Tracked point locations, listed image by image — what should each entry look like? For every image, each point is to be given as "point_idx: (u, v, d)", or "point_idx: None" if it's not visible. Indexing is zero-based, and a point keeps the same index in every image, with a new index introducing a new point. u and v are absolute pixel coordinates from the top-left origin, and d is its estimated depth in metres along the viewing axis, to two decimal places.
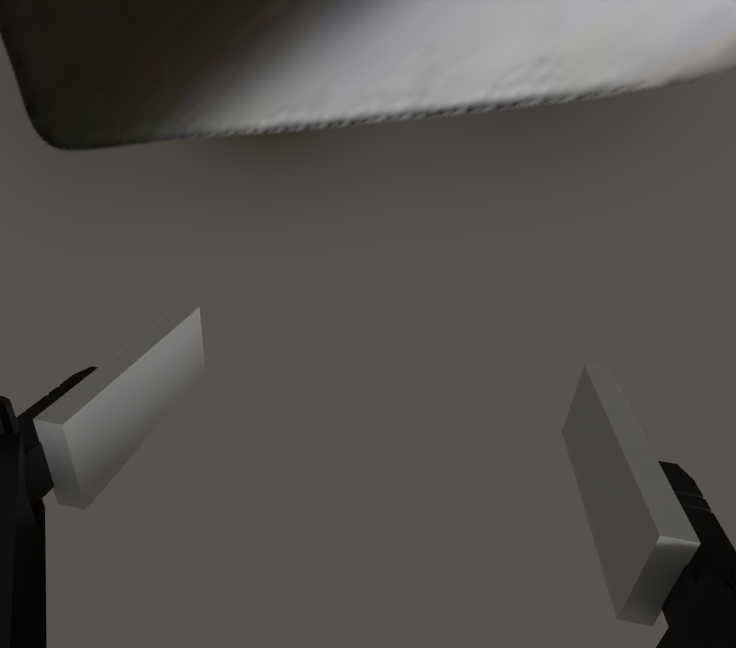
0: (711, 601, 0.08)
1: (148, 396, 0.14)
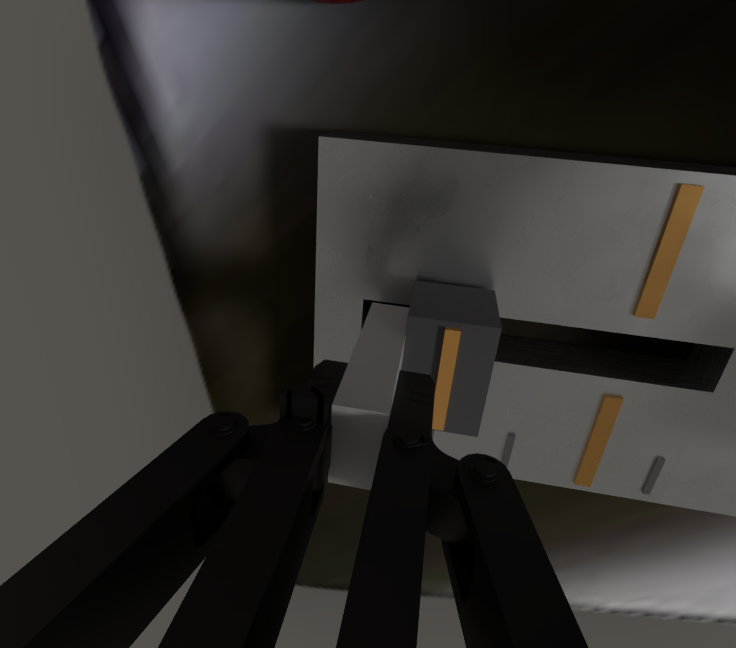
0: (390, 463, 0.11)
1: None
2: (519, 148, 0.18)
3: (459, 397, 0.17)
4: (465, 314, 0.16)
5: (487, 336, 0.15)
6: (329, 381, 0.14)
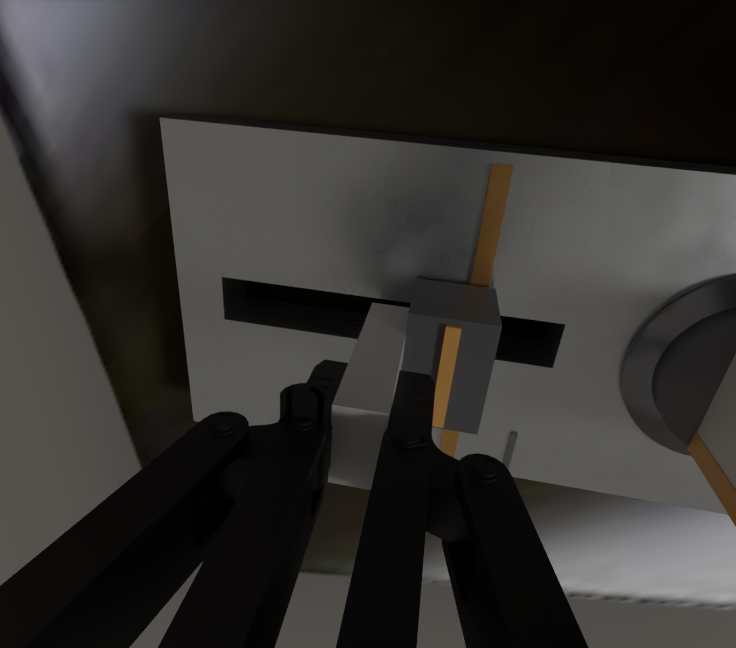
0: (390, 463, 0.11)
1: None
2: (361, 131, 0.19)
3: (459, 394, 0.17)
4: (466, 311, 0.16)
5: (487, 334, 0.16)
6: (329, 381, 0.14)
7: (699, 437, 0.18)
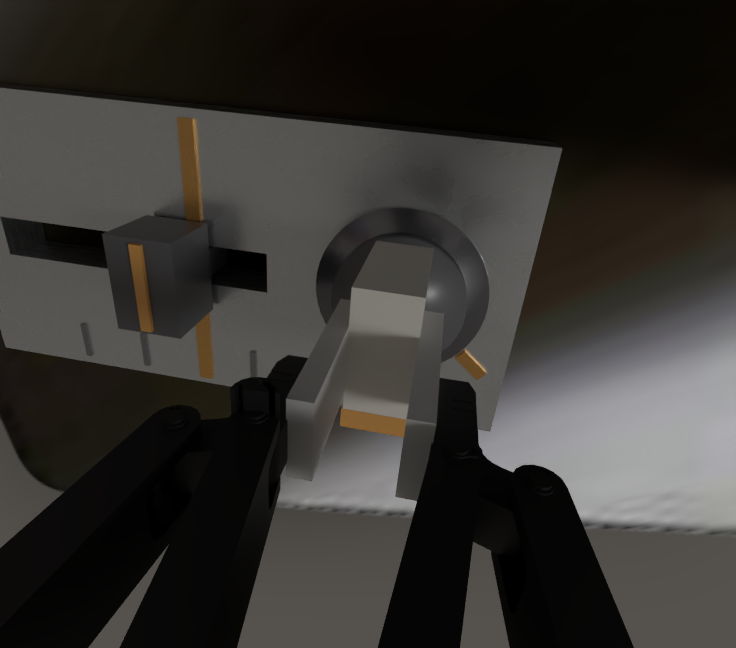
0: (438, 472, 0.11)
1: (338, 382, 0.16)
2: (101, 94, 0.23)
3: (157, 303, 0.21)
4: (154, 235, 0.20)
5: (162, 250, 0.20)
6: (290, 376, 0.15)
7: None
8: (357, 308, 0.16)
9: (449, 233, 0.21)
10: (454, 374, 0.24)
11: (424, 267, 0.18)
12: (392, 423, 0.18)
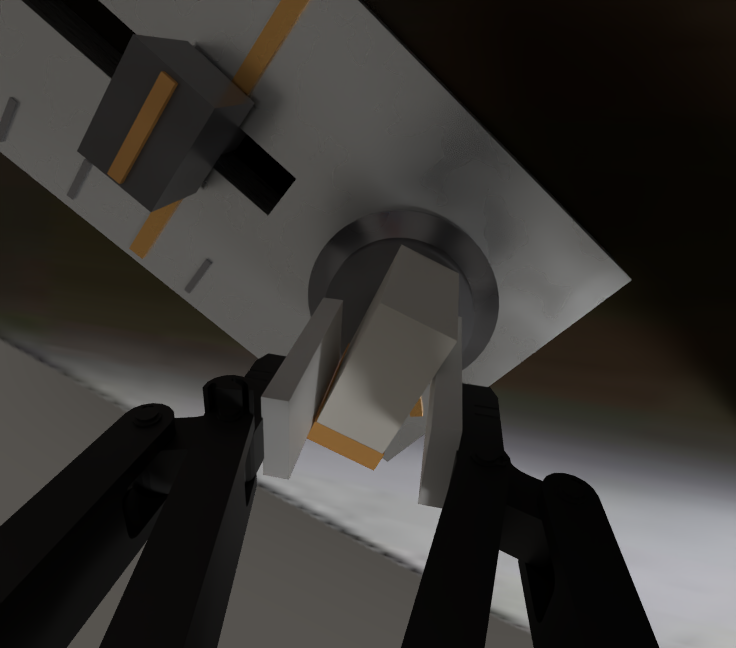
0: (465, 479, 0.11)
1: (318, 380, 0.16)
2: None
3: (149, 158, 0.16)
4: (196, 80, 0.15)
5: (199, 108, 0.15)
6: (268, 374, 0.15)
7: (348, 346, 0.20)
8: (377, 326, 0.14)
9: (487, 284, 0.19)
10: None
11: (451, 296, 0.16)
12: (365, 452, 0.16)
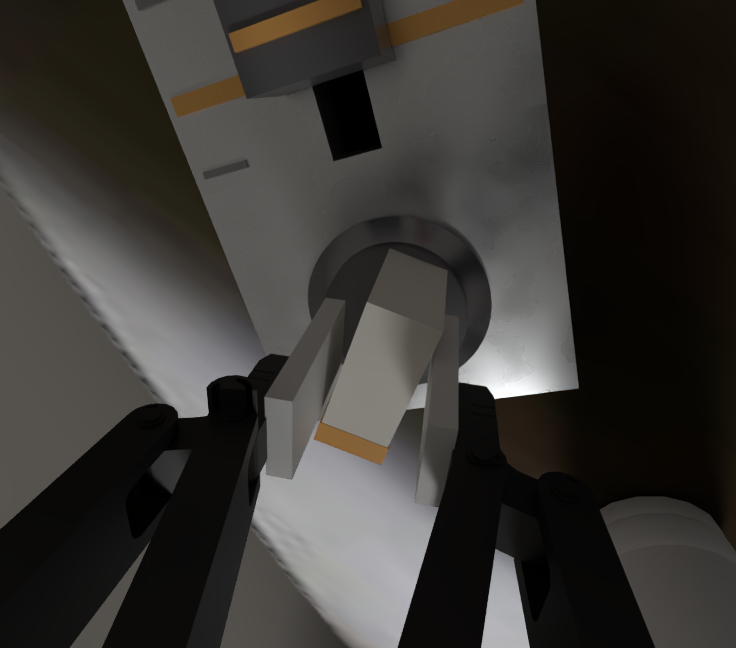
0: (461, 478, 0.11)
1: (321, 380, 0.16)
2: None
3: (282, 51, 0.14)
4: (374, 13, 0.14)
5: (365, 43, 0.14)
6: (271, 375, 0.15)
7: None
8: (366, 325, 0.14)
9: (478, 331, 0.21)
10: (335, 377, 0.23)
11: (439, 292, 0.17)
12: (370, 448, 0.16)
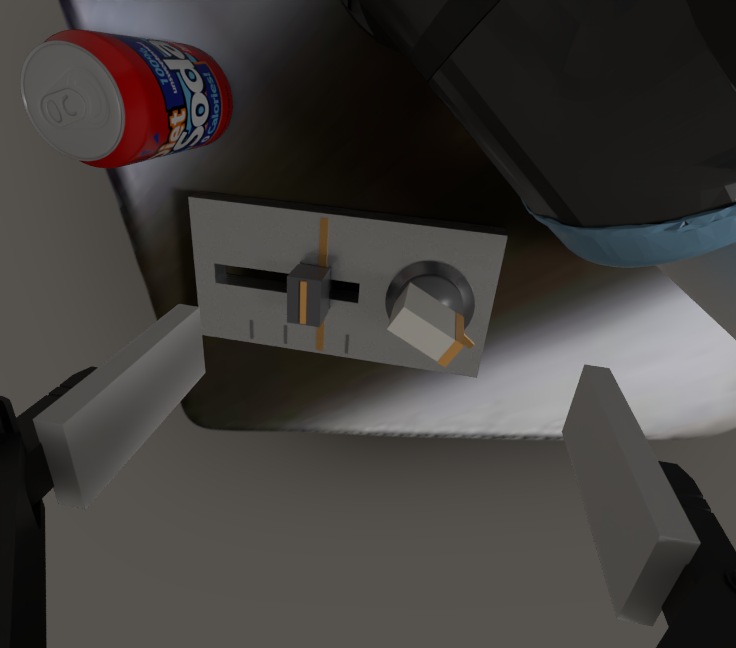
0: (711, 601, 0.08)
1: (148, 396, 0.14)
2: (273, 201, 0.44)
3: (310, 309, 0.42)
4: (310, 276, 0.41)
5: (316, 284, 0.41)
6: None
7: None
8: (396, 331, 0.38)
9: (454, 274, 0.42)
10: None
11: (405, 295, 0.40)
12: (454, 347, 0.38)
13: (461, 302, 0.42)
